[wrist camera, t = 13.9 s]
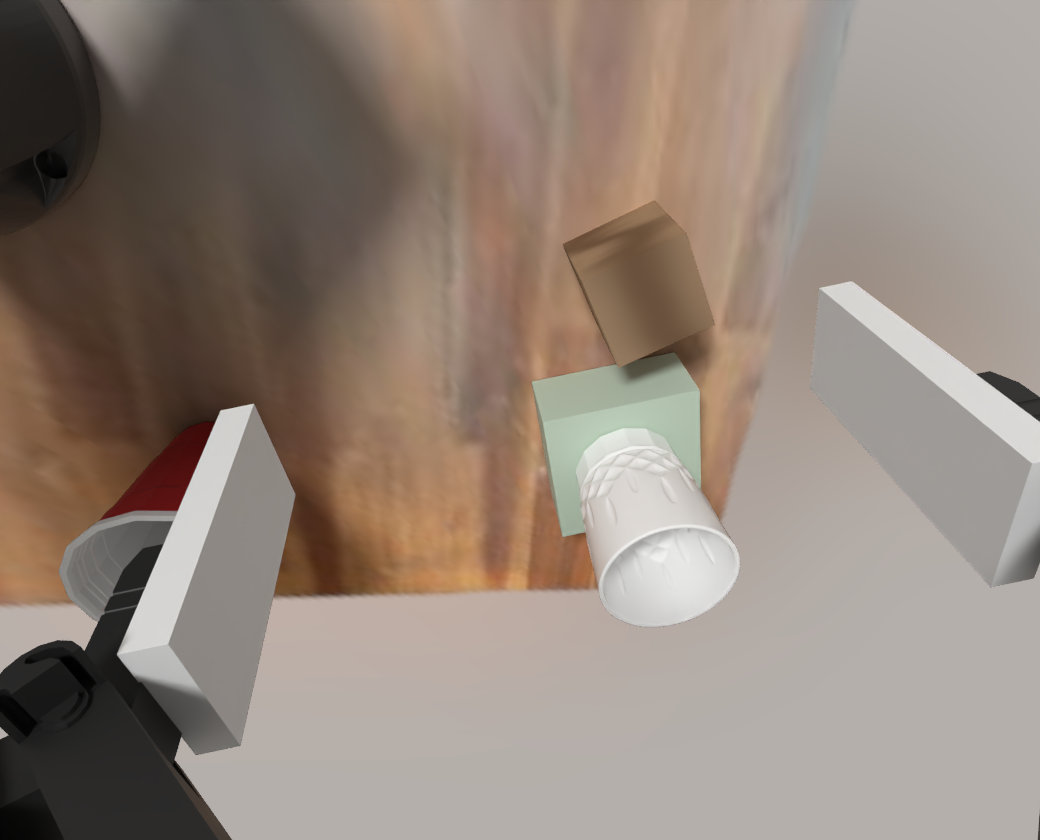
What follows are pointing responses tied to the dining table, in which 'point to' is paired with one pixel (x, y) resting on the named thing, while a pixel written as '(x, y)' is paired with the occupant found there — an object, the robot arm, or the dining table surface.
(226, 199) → the dining table surface
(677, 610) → the white cup
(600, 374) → the base block
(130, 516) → the plastic cup
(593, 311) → the walnut cube
